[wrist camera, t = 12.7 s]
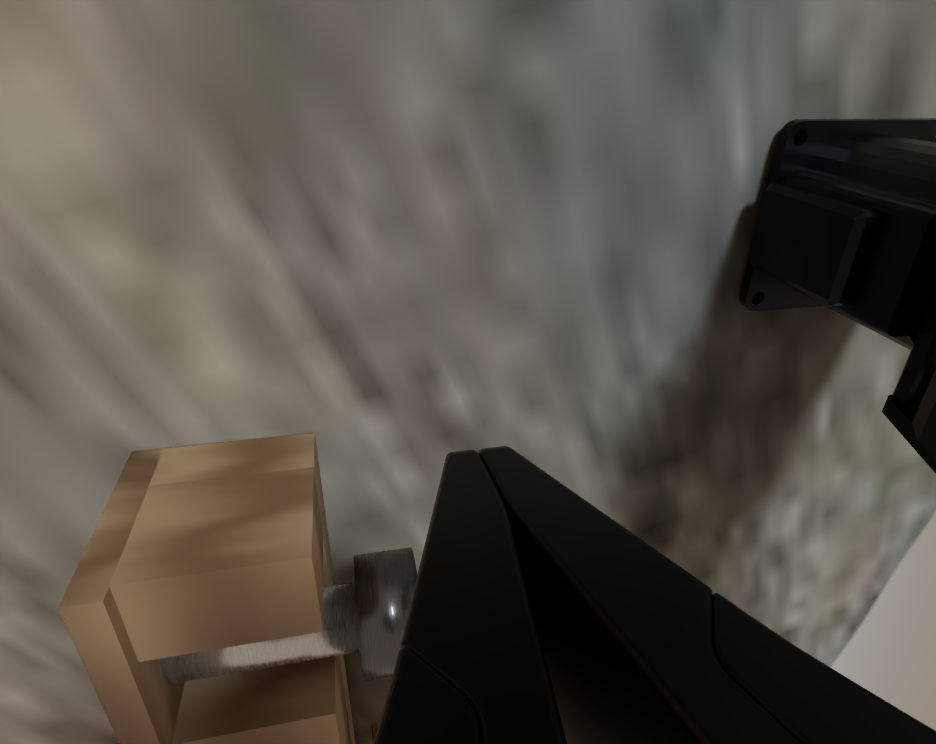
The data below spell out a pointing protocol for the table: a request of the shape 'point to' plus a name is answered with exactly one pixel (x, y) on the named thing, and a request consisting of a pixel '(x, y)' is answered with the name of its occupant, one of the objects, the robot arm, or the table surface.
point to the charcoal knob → (327, 626)
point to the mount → (210, 595)
